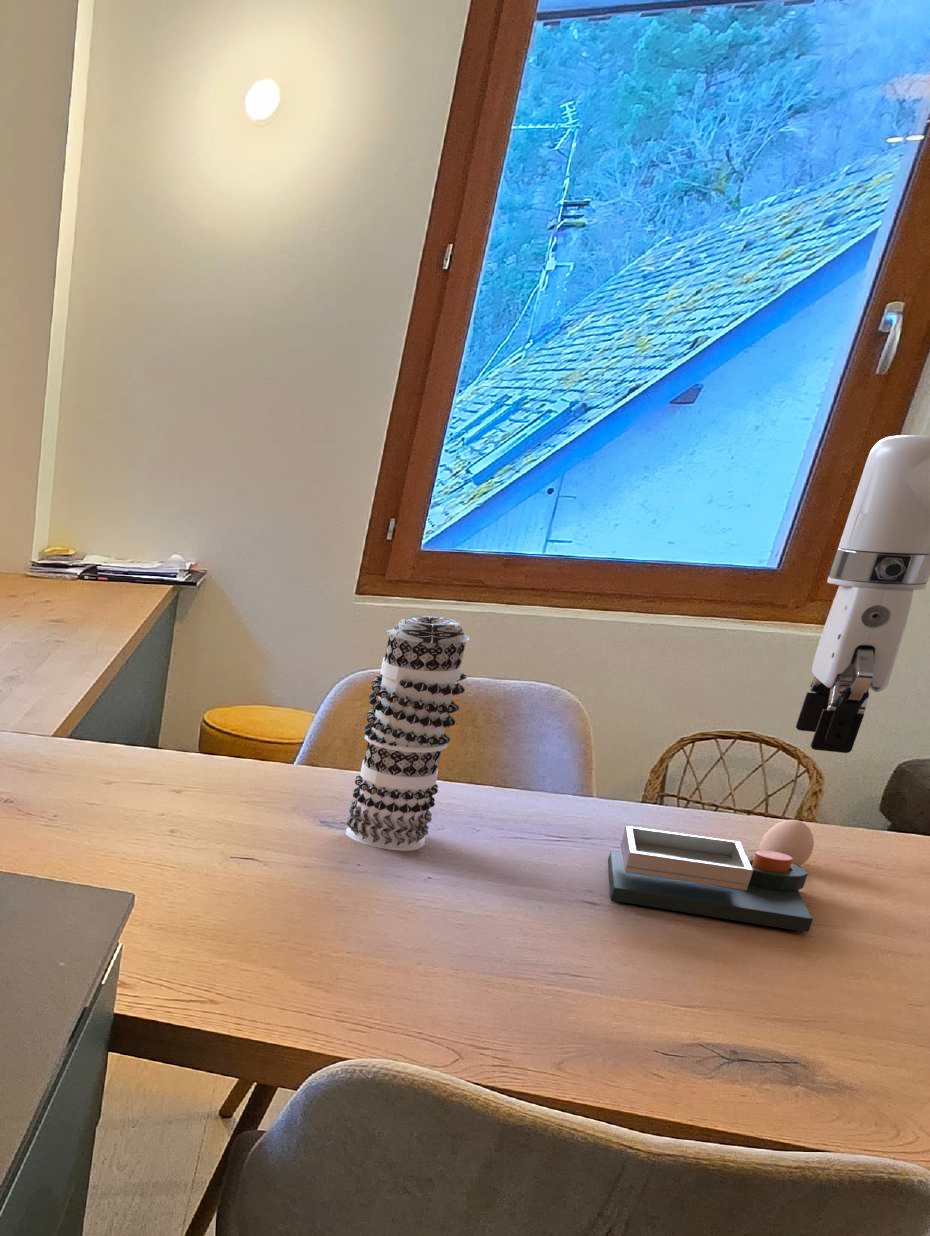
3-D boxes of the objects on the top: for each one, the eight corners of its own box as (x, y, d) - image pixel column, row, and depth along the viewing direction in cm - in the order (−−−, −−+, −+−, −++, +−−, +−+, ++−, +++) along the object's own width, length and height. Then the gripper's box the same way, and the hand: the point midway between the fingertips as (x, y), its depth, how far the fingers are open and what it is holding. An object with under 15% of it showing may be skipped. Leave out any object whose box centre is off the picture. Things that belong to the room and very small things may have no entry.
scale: (792, 890, 124) (802, 862, 123) (814, 933, 113) (825, 904, 112) (606, 862, 131) (614, 836, 130) (610, 900, 121) (618, 872, 120)
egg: (782, 879, 127) (801, 830, 125) (742, 864, 131) (759, 815, 128) (813, 874, 128) (832, 825, 126) (772, 859, 132) (790, 811, 130)
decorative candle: (446, 843, 136) (499, 622, 125) (394, 860, 132) (443, 633, 121) (376, 819, 143) (420, 608, 132) (324, 834, 139) (365, 617, 128)
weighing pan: (734, 860, 123) (741, 841, 122) (746, 890, 115) (753, 870, 114) (620, 844, 128) (625, 825, 127) (624, 872, 120) (630, 852, 119)
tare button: (785, 867, 122) (790, 853, 122) (790, 876, 120) (795, 862, 119) (749, 862, 124) (754, 848, 123) (753, 871, 121) (758, 856, 121)
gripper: (952, 581, 109) (885, 764, 115) (909, 564, 123) (851, 728, 129) (848, 576, 112) (789, 753, 119) (817, 560, 126) (765, 720, 133)
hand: (821, 740), depth 124 cm, fingers open, 9 cm apart
